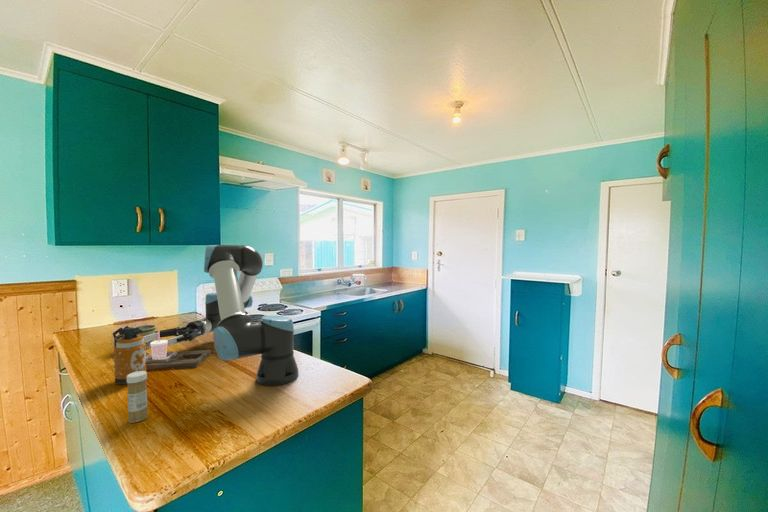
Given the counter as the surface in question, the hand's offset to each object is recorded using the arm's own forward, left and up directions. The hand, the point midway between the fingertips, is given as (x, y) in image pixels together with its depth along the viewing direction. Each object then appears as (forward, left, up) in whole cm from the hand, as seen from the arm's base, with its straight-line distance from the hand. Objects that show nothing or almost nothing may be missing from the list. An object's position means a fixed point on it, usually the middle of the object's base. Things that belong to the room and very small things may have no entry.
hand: (155, 341), depth 129 cm
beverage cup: (+1, -1, -10) cm, 10 cm away
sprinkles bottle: (-45, -18, -10) cm, 49 cm away
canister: (-16, +1, -10) cm, 18 cm away
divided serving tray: (+1, -7, -10) cm, 12 cm away
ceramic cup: (+24, +17, -10) cm, 32 cm away
